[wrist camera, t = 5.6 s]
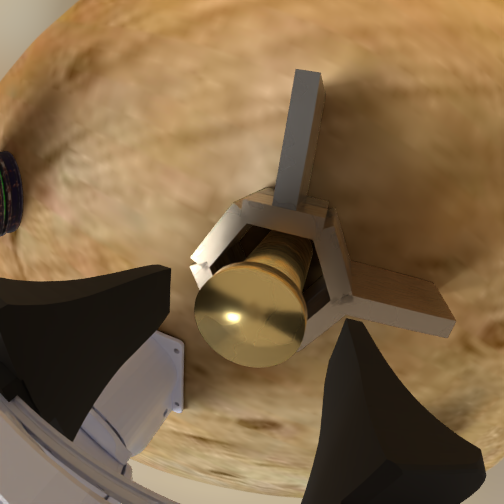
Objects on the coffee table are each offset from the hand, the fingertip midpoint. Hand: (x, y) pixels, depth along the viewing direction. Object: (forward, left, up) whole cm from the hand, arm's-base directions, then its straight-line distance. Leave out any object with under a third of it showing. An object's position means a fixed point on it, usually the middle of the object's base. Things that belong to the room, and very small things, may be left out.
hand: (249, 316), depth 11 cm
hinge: (+3, -3, -7) cm, 8 cm away
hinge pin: (0, 0, -7) cm, 7 cm away
